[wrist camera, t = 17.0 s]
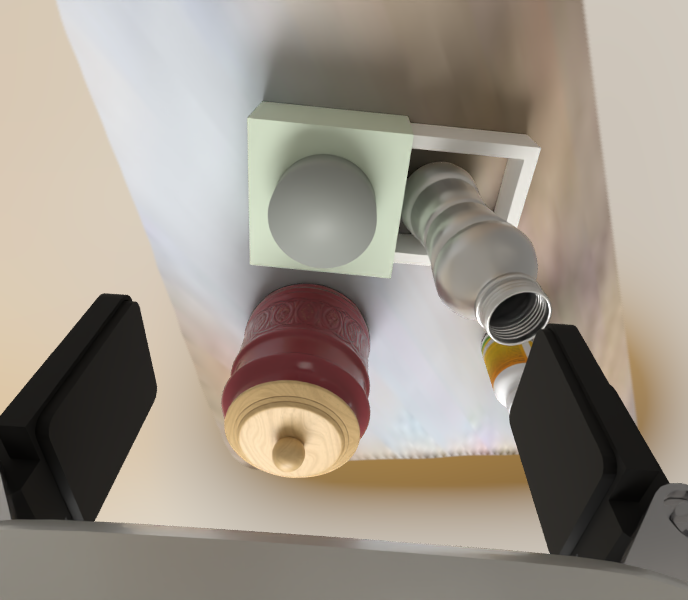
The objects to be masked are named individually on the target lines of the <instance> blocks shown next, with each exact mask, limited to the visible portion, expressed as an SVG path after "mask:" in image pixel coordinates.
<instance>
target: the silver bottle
mask: <svg viewBox="0 0 688 600" xmlns="http://www.w3.org/2000/svg"><path fill="white" fill-rule="evenodd" d="M401 217H402V221H403V223H404V224H405V226H406V228H407V229H408V230H409V231H410V232H411V233H412V234H413V235H414V236H415V237H416V238H417V239H418V240H419V241H420V242H421V244H422V245H423V246H424V248H425V249H426V252H427V254H428V257H429V260H430V262H431V267H432V272H433V278H434V282H435V286H436V289H437V292H438V295H439V297H440V299H441V300H442V302H443V303H444V304H445V305H446V306H447V307H448V308H449V309H450V310H452V311H453V312H454V313H456V314H458V315H459V316H461V317H463V318H466V319H470V320H476V321H478V322H479V324H480V325H481V326H482V327H483V328H484V329H485V330H486V332H487V334H488V335H489V336H490V337H491V338H492V339H493V340H494V341H495V342H497V343H499V344H502V345H507V346H513V345H519V344H523V343H526V342H528V341H530V340H532V339H533V338H535V335H536V333H537V331H538V330H539V329H544V328H545V327H546V325H547V324H548V322H549V321H550V318H551V313H552V307H551V303H550V301H549V298H548V297H547V296H546V294H545V293H544V292H543V291H542V289H541V286H540V285H539V284H538V283H537V281H536V278H537V273H538V263H537V257H536V253H535V249H534V247H533V245H532V242H531V241H530V240H529V238H528V237H527V236H526V235H525V234H524V233H522V232H521V231H520V230H519V229H517V228H516V227H515V226H513V225H512V224H510V223H508V222H507V221H505V220H504V219H502V218H500V217H499V216H497V215H496V214H495V213H494V212H493V211H492V210H490V209H489V208H488V207H487V206H486V205H485V203H484V202H483V200H482V198H481V197H480V194H479V191H478V188H477V186H476V184H475V182H474V180H473V178H472V177H471V176H470V174H469V173H468V172H467V171H465V170H464V169H463V168H461V167H459V166H456V165H454V164H452V163H448V162H433V163H429V164H427V165H424V166H422V167H421V168H419V169H417V170H416V171H415V172H414V173H413V174H412V175H411V176H410V177H409V178H408V180H407V181H406V186H405V192H404V199H403V205H402V211H401Z"/></svg>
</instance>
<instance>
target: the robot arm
mask: <svg viewBox="0 0 688 600" xmlns="http://www.w3.org/2000/svg"><path fill="white" fill-rule="evenodd" d="M156 393H157V384H156V379H155V375H154V371H153V366H152V361H151V357H150V352H149V348H148V343H147V339H146V334H145V329H144V325H143V320H142V316H141V312H140V307H139V305H138V303H137V302H133V301H132V299H131V297H130V296H128V295H119V294H105V293H104V294H101V295H100V296H99V297H98V298H97V299H96V301H95V302H94V303H93V304H92V305H91V307H90V308H89V309H88V310H87V312H86V313H85V314H84V315H83V316H82V318H81V319H80V320H79V321H78V322H77V324H76V325H75V326H74V328H73V329H72V330H71V331H70V332H69V333H68V335H67V336H66V337H65V338H64V340H63V341H62V342H61V343H60V344H59V346H58V347H57V348H56V349H55V350H54V352H53V353H52V354H51V355H50V356H49V357H48V359H47V360H46V361H45V362H44V363H43V365H42V366H41V367H40V368H39V369H38V371H37V372H36V373H35V374H34V375H33V377H32V378H31V379H30V380H29V382H28V383H27V384H26V385H25V386H24V388H23V389H22V390H21V391H20V393H19V394H18V395H17V396H16V397H15V399H14V400H13V401H12V402H11V403H10V405H9V406H8V407H7V408H6V410H5V411H4V412H3V413H2V414H1V415H0V600H688V485H686V484H682V483H669V481H668V480H667V478H666V476H665V474H664V473H663V471H662V469H661V468H660V466H659V464H658V462H657V461H656V459H655V457H654V456H653V454H652V452H651V450H650V449H649V447H648V445H647V444H646V442H645V440H644V438H643V437H642V435H641V434H640V431H639V430H638V428H637V426H636V425H635V423H634V421H633V419H632V418H631V416H630V414H629V413H628V411H627V409H626V407H625V406H624V404H623V402H622V400H621V399H620V397H619V395H618V394H617V392H616V390H615V389H614V388H613V387H612V386H611V385H610V384H609V383H608V381H607V379H606V377H605V376H604V374H603V372H602V370H601V369H600V367H599V365H598V363H597V362H596V360H595V358H594V357H593V355H592V353H591V351H590V350H589V348H588V346H587V344H586V343H585V341H584V339H583V337H582V336H581V334H580V332H579V330H578V329H577V327H576V326H574V325H565V324H547V325H546V327H545V328H544V329H539V330H538V331H537V333H536V335H535V338H534V341H533V344H532V347H531V350H530V353H529V356H528V359H527V362H526V365H525V368H524V370H523V373H522V376H521V379H520V382H519V385H518V388H517V391H516V394H515V397H514V400H513V403H512V406H511V409H510V414H509V420H510V426H511V429H512V432H513V436H514V439H515V442H516V445H517V449H518V452H519V455H520V458H521V462H522V465H523V468H524V471H525V474H526V478H527V481H528V484H529V488H530V491H531V494H532V498H533V501H534V504H535V507H536V511H537V514H538V517H539V520H540V523H541V527H542V530H543V533H544V536H545V540H546V543H547V547H548V550H549V552H550V554H542V553H532V552H522V551H511V550H499V549H487V548H474V547H461V546H447V545H434V544H421V543H408V542H394V541H382V540H367V539H353V538H340V537H326V536H311V535H296V534H282V533H269V532H255V531H239V530H225V529H209V528H194V527H177V526H164V525H148V524H132V523H113V522H112V523H111V522H94V521H95V519H96V517H97V515H98V513H99V511H100V509H101V507H102V505H103V503H104V501H105V499H106V497H107V495H108V493H109V491H110V489H111V487H112V485H113V483H114V481H115V479H116V477H117V475H118V473H119V471H120V469H121V467H122V465H123V463H124V461H125V459H126V457H127V455H128V453H129V451H130V449H131V447H132V445H133V443H134V441H135V439H136V437H137V435H138V433H139V431H140V428H141V427H142V424H143V423H144V421H145V419H146V417H147V415H148V412H149V411H150V409H151V407H152V405H153V403H154V400H155V398H156Z"/></svg>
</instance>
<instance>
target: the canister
mask: <svg viewBox="0 0 688 600" xmlns="http://www.w3.org/2000/svg"><path fill="white" fill-rule="evenodd" d="M369 352H370V336H369V331H368V328H367V325H366V322H365V320H364V317H363V315H362V313H361V312H360V310H359V309H358V307H357V306H356V305H355V304H354V303H353V302H352V301H351V300H350V299H349V298H347V297H346V296H345V295H343V294H341V293H340V292H338V291H336V290H334V289H331V288H328V287H325V286H321V285H316V284H294V285H289V286H286V287H283V288H280V289H278V290H276V291H274V292H272V293H271V294H269V295H268V296H266V297H265V298H264V299H263V300H262V301H261V302H260V304H259V305H258V306H257V307H256V308H255V310H254V311H253V313H252V314H251V316H250V318H249V320H248V323H247V326H246V329H245V334H244V340H243V343H242V346H241V348H240V351H239V354H238V355H237V357H236V359H235V361H234V363H233V366H232V370H231V377H230V378H229V380H228V382H227V383H226V385H225V387H224V390H223V394H222V401H221V404H222V412H223V416H224V419H225V425H224V426H225V433H226V437H227V439H228V441H229V443H230V445H231V446H232V448H233V449H234V451H235V452H236V453H237V454H238V455H239V456H240V457H241V458H242V459H244V460H245V461H246V462H248V463H249V464H251V465H253V466H254V467H256V468H258V469H260V470H263V471H265V472H268V473H271V474H274V475H278V476H282V477H290V478H302V477H313V476H318V475H322V474H325V473H328V472H331V471H333V470H335V469H337V468H339V467H340V466H342V465H343V464H344V463H346V462H347V461H348V460H349V459H350V458H351V457H352V456H353V454H354V453H355V451H356V449H357V447H358V444H359V440H360V439H361V438H362V436H363V435H364V433H365V431H366V429H367V427H368V424H369V420H370V405H369V401H368V396H369V391H370V381H369V376H368V357H369Z"/></svg>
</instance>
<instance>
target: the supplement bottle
mask: <svg viewBox="0 0 688 600" xmlns="http://www.w3.org/2000/svg"><path fill="white" fill-rule="evenodd" d="M533 341H534V340H533V339H532V340H530V341H528V342H526V343H523V344H519V345H513V346H507V345H502V344H499V343H497V342H495V341H494V340H493V339H492V338H491V337H490V336H489V335H488V334H487V335H486V336H485V337H484V339H483V341H482V345H481V351H482V355H483V358H484V361H485V365H486V368H487V371H488V374H489V377H490V380H491V384H492V387H493V390H494V393H495V396H496V398H497V399H498V401H499V402H500V403H501V404H503V405H504V406H506V407H507V410H508V412H509V414H510V409H511V406H512V403H513V400H514V397H515V394H516V391H517V388H518V385H519V382H520V379H521V376H522V373H523V370H524V368H525V365H526V362H527V359H528V356H529V353H530V350H531V347H532V344H533Z"/></svg>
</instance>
